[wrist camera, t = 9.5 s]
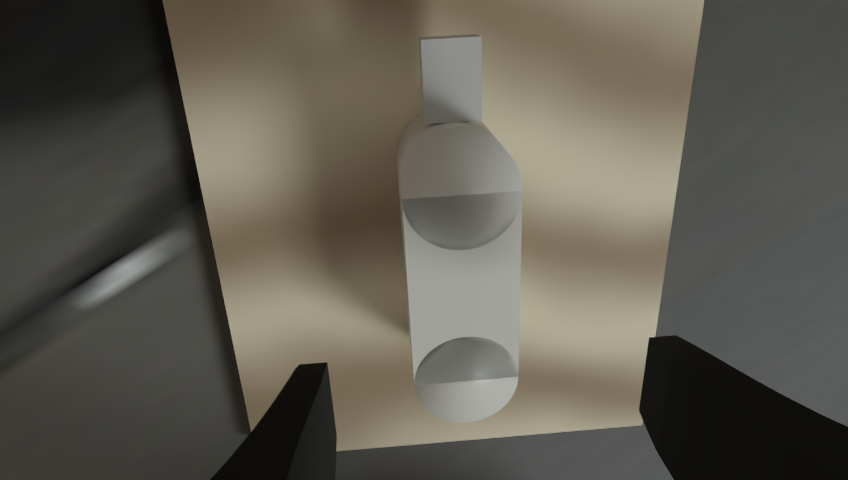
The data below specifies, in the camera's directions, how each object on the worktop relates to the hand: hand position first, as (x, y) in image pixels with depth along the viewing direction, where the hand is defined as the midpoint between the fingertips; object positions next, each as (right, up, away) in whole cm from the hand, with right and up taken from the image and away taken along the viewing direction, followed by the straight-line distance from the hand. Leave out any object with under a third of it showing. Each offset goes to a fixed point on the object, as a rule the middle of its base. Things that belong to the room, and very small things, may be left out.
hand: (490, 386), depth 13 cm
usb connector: (-1, +4, +7) cm, 8 cm away
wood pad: (-1, +4, +8) cm, 9 cm away
